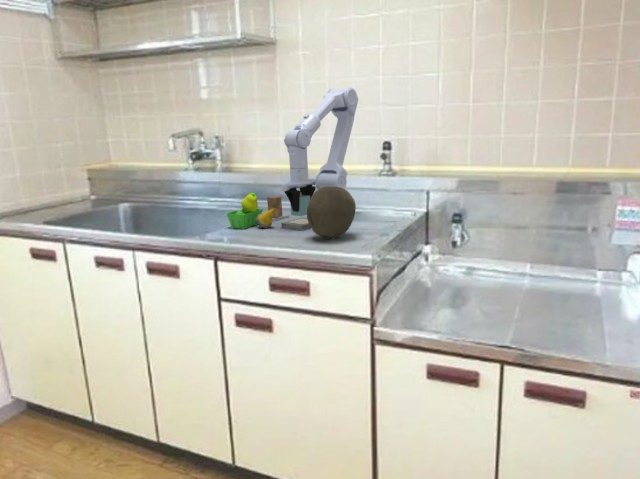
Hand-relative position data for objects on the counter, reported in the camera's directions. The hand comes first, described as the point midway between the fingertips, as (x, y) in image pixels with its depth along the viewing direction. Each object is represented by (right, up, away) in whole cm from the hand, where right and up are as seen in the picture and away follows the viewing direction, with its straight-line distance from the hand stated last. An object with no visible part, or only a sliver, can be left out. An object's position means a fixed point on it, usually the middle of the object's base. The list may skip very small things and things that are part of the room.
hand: (301, 210), depth 174 cm
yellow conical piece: (-11, -6, +2) cm, 13 cm away
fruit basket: (-18, -5, +6) cm, 20 cm away
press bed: (0, -5, +1) cm, 5 cm away
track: (-10, -3, +15) cm, 18 cm away
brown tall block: (-10, -1, +15) cm, 18 cm away
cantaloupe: (+10, -9, -16) cm, 21 cm away
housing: (0, -1, +1) cm, 2 cm away
